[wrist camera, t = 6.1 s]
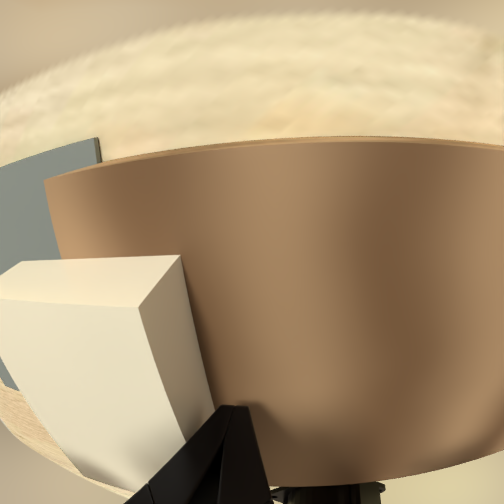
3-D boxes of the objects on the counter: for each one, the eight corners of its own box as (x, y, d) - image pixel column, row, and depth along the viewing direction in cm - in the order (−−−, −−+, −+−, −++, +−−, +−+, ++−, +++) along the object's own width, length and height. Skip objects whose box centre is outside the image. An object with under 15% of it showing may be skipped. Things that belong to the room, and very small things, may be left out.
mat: (97, 137, 11) (93, 138, 11) (175, 426, 17) (173, 430, 16) (-65, 196, 13) (-68, 197, 13) (7, 383, 19) (5, 385, 19)
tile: (179, 254, 8) (137, 307, 6) (228, 458, 11) (217, 508, 9) (21, 260, 9) (-28, 295, 6) (104, 437, 12) (83, 476, 10)
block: (568, 157, 8) (626, 176, 5) (506, 393, 13) (529, 439, 10) (110, 160, 11) (43, 180, 8) (178, 417, 16) (157, 472, 13)
